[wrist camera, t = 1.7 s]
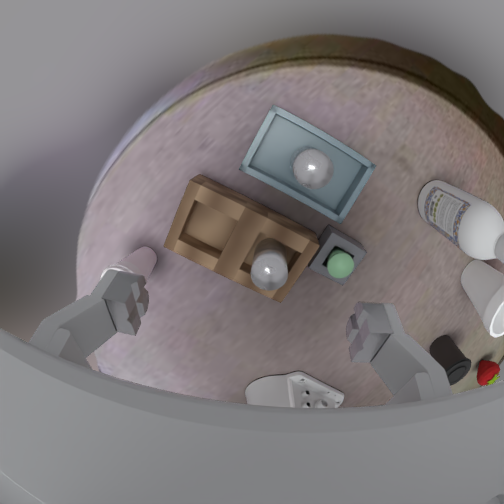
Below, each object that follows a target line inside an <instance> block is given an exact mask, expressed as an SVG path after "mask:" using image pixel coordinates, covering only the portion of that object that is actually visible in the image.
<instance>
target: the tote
mask: <svg viewBox="0 0 504 504" xmlns="http://www.w3.org/2000/svg"><path fill="white" fill-rule="evenodd" d="M301 147H313V148H315V149H317V150H320V151H322V152H324V153H325V154H326V155H328V157H329V158H330V159H331V161H332V163H333V169H334V171H333V176H332V178H331V180H330V182H329V183H328V184H327V185H325V186H324V187H322V188H319V189H309V188H306V187H304V186H302V185H301V184H300V183H299V182H298V181H297V180H296V178H295V175H294V173H293V171H292V168H291V157H292V155H293V153H294V152H295V151H296V150H297V149H299V148H301ZM375 167H376V165H375V164H373V163H372V162H370V161H369V160H367V159H366V158H364V157H363V156H361V155H360V154H358V153H357V152H355V151H354V150H352V149H351V148H349V147H348V146H346V145H344V144H343V143H341V142H340V141H338V140H336V139H335V138H333V137H332V136H330V135H328V134H326V133H325V132H323V131H321V130H320V129H318V128H316V127H314V126H313V125H311V124H309V123H307V122H306V121H304V120H302V119H300V118H298V117H296V116H294V115H292V114H291V113H289V112H287V111H285V110H283V109H281V108H279V107H277V106H275V105H273V106H272V107H271V109H270V111H269V113H268V115H267V117H266V118H265V120H264V122H263V124H262V126H261V128H260V130H259V131H258V133H257V135H256V137H255V139H254V141H253V143H252V145H251V147H250V148H249V150H248V152H247V154H246V156H245V158H244V160H243V162H242V164H241V166H240V168H239V170H241V171H243V172H245V173H247V174H249V175H251V176H253V177H255V178H257V179H259V180H261V181H263V182H265V183H267V184H269V185H271V186H273V187H274V188H276V189H278V190H280V191H282V192H284V193H286V194H288V195H290V196H291V197H293V198H295V199H297V200H299V201H301V202H302V203H304V204H306V205H308V206H310V207H311V208H313V209H315V210H317V211H319V212H320V213H322V214H324V215H326V216H327V217H329V218H331V219H332V220H334V221H336V222H338V223H339V224H341V223H342V221H343V220H344V218H345V216H346V215H347V213H348V212H349V210H350V209H351V207H352V205H353V204H354V202H355V201H356V199H357V197H358V196H359V194H360V192H361V191H362V189H363V187H364V186H365V184H366V182H367V181H368V179H369V177H370V176H371V174H372V172H373V171H374V169H375Z"/></svg>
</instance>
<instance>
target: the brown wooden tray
mask: <svg viewBox="0 0 504 504" xmlns="http://www.w3.org/2000/svg"><path fill="white" fill-rule="evenodd" d="M267 238H273V239H275V240H277V241H279V242H281V243H282V244H283V245H284V246H285V248H286V255H287V269H288V278H287V281H286V282H285V284H284V285H283V286H282V287H280V288H279V289H276V290H271V291H268V290H263V289H260V288H259V287H257V286H256V285H255V284H254V283H253V281H252V279H251V268H252V262H253V256H254V250H255V247H256V245H257V244H258V243H259V242H260V241H262V240H264V239H267ZM319 246H320V245H319V242H318V239H317V236H316V234H315V233H314V232H313V231H311V230H309V229H307V228H305V227H303V226H302V225H300V224H298V223H296V222H294V221H292V220H290V219H288V218H286V217H285V216H283V215H281V214H279V213H277V212H275V211H273V210H271V209H269V208H267V207H265V206H263V205H262V204H260V203H258V202H256V201H254V200H252V199H250V198H248V197H246V196H244V195H242V194H240V193H238V192H236V191H234V190H232V189H230V188H228V187H226V186H223V185H221V184H219V183H217V182H215V181H213V180H211V179H209V178H207V177H205V176H203V175H201V174H199V175H197V176H196V177H194V178H192V179H191V180H190V181H189V183H188V186H187V188H186V191H185V193H184V195H183V198H182V200H181V203H180V205H179V208H178V210H177V213H176V215H175V218H174V220H173V223H172V225H171V228H170V231H169V233H168V236H167V239H166V241H165V244H164V247H165V248H167V249H169V250H171V251H173V252H175V253H177V254H179V255H181V256H183V257H185V258H187V259H189V260H191V261H193V262H195V263H197V264H200V265H202V266H204V267H206V268H208V269H210V270H212V271H214V272H216V273H218V274H220V275H222V276H224V277H226V278H228V279H231V280H233V281H235V282H237V283H239V284H241V285H243V286H245V287H248V288H250V289H252V290H254V291H256V292H258V293H260V294H263V295H265V296H267V297H269V298H271V299H273V300H276V301H278V302H280V303H281V302H282V301H283V299H284V298H285V296H286V295H287V294H288V292H289V291H290V289H291V288H292V286H293V285H294V283H295V282H296V281H297V279H298V278H299V276H300V275H301V273H302V272H303V270H304V269H305V267H306V266H307V264H308V263H309V261H310V260H311V258H312V257H313V255H314V254H315V252H316V251H317V249H318V248H319Z"/></svg>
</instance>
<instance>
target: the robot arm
mask: <svg viewBox="0 0 504 504" xmlns="http://www.w3.org/2000/svg"><path fill="white" fill-rule="evenodd" d="M145 284H146V280H145V276H143V275H140V274H134V273H129V272H124V271H118V270H113V269H109V270H107V271H106V273H105V274H104V276H103V277H102V278H101V280H100V281H99V283H98V284H97V286H96V287H95V289H94V290H93V292H92V293H91V295H90V296H89V295H86V296H84V297H82V298H81V299H79V300H77V301H75V302H73V303H72V304H70V305H68V306H67V307H65V308H63V309H61V310H59V311H58V312H56V313H54V314H52V315H51V316H49V317H47V318H45V319H44V320H42V322H41V324H40V325H39V327H38V328H37V330H36V331H35V333H34V335H33V336H32V338H31V339H30V341H29V343H28V342H26V341H24V340H22V339H20V338H18V337H16V336H14V335H12V334H10V333H8V332H6V331H5V330H3V329H1V328H0V504H504V380H503V381H500V382H497V383H493V384H490V385H487V386H484V387H480V388H476V389H472V390H469V391H465V392H460V393H456V394H452V390H451V387H450V384H449V381H448V378H447V375H446V372H445V369H444V368H443V367H442V366H441V365H440V364H439V363H438V362H437V361H436V360H435V359H434V358H433V357H432V356H431V355H429V354H428V353H427V352H426V351H425V350H424V349H423V348H422V347H421V346H420V345H419V344H418V343H417V342H416V341H415V340H414V339H413V338H412V337H411V336H409V335H408V334H405V332H404V330H403V327H402V324H401V321H400V319H399V316H398V314H397V311H396V308H395V306H394V305H393V304H392V303H374V302H358V303H357V304H356V305H355V307H354V311H355V313H354V314H353V315H351V316H350V318H349V320H348V322H347V327H346V335H347V340H348V341H349V342H350V343H351V345H350V347H349V352H350V357H351V362H370V364H371V365H372V367H373V368H374V369H375V371H376V372H377V373H378V375H379V376H380V377H381V379H382V380H383V381H384V383H385V384H386V385H387V387H388V388H389V390H390V391H391V392H392V394H393V395H394V396H393V397H392V398H391V399H390V400H389V401H388V402H387V403H386V404H385V405H379V406H366V407H348V408H338V407H339V406H340V404H341V403H342V402H343V399H344V393H342V392H340V391H338V390H336V389H334V388H332V387H330V386H328V385H326V384H324V383H322V382H320V381H319V380H317V379H315V378H313V377H311V376H309V375H307V374H305V373H303V372H300V371H297V372H293V373H290V374H287V375H278V376H268V377H264V378H260V379H258V380H256V381H254V382H252V383H251V384H250V385H249V386H248V387H247V388H246V391H245V396H246V400H247V404H242V403H233V402H226V401H219V400H212V399H206V398H200V397H195V396H189V395H184V394H179V393H174V392H170V391H165V390H161V389H157V388H153V387H149V386H145V385H141V384H137V383H133V382H130V381H126V380H123V379H120V378H116V377H113V376H110V375H107V374H104V373H101V372H98V371H95V370H92V368H91V366H90V365H89V363H88V361H87V360H86V357H87V356H89V355H90V354H91V353H92V352H94V351H95V350H96V349H97V348H99V347H100V346H101V345H102V344H103V343H105V342H106V341H107V340H108V339H110V338H111V337H112V336H113V335H115V334H116V333H117V332H121V333H125V334H130V335H135V336H136V334H137V331H138V329H139V327H140V325H141V320H140V317H142V316H143V315H145V313H146V311H147V309H148V304H149V295H148V291H147V290H146V289H145V288H144V286H145Z"/></svg>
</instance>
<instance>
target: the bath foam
mask: <svg viewBox="0 0 504 504" xmlns="http://www.w3.org/2000/svg"><path fill="white" fill-rule="evenodd" d="M418 209H419V213H420V215H421V217H422V218H423V219H424V220H425V221H426V222H427V223H428V224H430V225H431V226H432V227H433V228H435V229H436V230H437V231H439V232H440V233H441V234H442V235H444V236H445V237H446V238H447V239H449V240H450V241H451V242H452V243H453V244H455V245H456V246H457V247H458V248H459V249H461V250H462V251H463V252H464V253H466V254H467V255H469V256H471V257H473V258H476V259H479V260H489V259H495V258H498V259H499V260H500V261H501V262H502V263H503V264H504V221H503V219H502V217H501V215H500V214H499V212H498V211H497V210H496V209H495V208H494V207H493V206H492V205H491V204H489V203H488V202H486V201H484V200H482V199H480V198H478V197H476V196H474V195H472V194H470V193H468V192H466V191H464V190H462V189H459V188H457V187H455V186H453V185H450V184H448V183H445V182H443V181H440V180H434V181H431V182H429V183H427V184H426V185H425V186H424V187H423V189H422V190H421V192H420V195H419V198H418Z"/></svg>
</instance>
